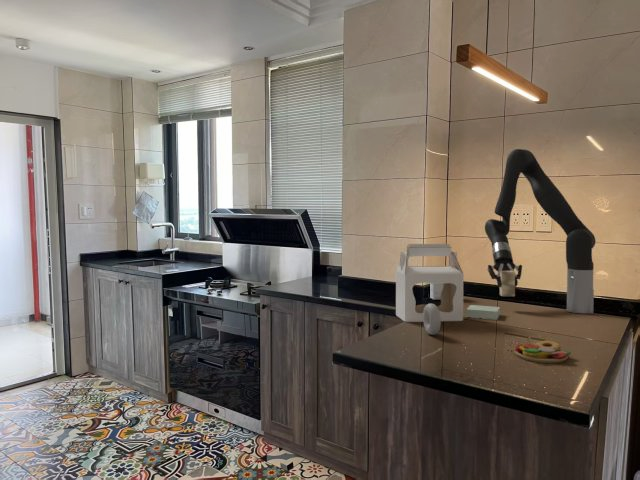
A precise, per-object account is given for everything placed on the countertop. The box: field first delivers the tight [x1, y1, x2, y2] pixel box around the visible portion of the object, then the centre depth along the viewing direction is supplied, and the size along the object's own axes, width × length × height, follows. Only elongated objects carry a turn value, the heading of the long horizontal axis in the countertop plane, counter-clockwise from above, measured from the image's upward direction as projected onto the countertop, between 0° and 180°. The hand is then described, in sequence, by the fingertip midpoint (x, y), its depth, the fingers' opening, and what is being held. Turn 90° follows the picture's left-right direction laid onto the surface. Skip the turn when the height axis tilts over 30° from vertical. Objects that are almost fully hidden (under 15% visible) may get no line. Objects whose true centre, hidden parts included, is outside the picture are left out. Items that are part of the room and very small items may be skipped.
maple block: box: [499, 270, 516, 297], centre depth 195 cm, size 5×5×10 cm
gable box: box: [395, 243, 464, 323], centre depth 178 cm, size 22×13×28 cm, turn 95°
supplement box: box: [429, 283, 444, 301], centre depth 227 cm, size 9×9×15 cm
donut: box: [422, 303, 442, 336], centre depth 151 cm, size 10×3×10 cm, turn 5°
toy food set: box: [514, 340, 571, 364], centre depth 126 cm, size 13×13×3 cm
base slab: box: [465, 304, 501, 321], centre depth 183 cm, size 11×11×4 cm
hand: (508, 285), depth 193 cm, fingers closed on maple block, 5 cm apart
